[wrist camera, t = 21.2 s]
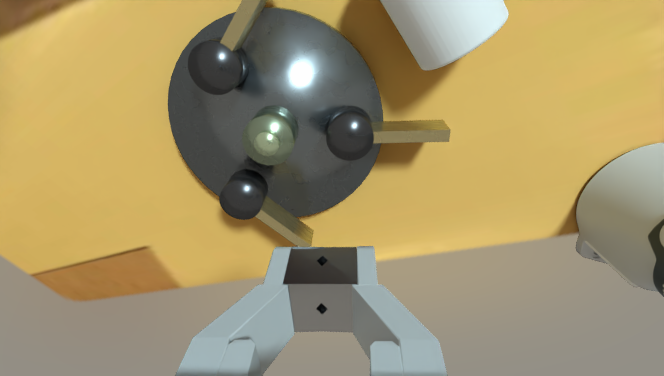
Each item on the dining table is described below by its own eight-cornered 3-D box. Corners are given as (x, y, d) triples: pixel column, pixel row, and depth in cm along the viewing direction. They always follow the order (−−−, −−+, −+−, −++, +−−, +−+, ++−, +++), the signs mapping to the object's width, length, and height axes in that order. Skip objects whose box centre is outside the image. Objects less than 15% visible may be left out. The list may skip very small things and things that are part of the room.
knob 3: (329, 148, 38) (327, 161, 35) (327, 106, 35) (324, 116, 32) (439, 145, 37) (447, 158, 34) (444, 102, 35) (453, 112, 32)
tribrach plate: (423, 78, 36) (437, 94, 30) (324, 235, 46) (320, 269, 40) (212, -43, 32) (181, -51, 26) (155, 159, 42) (123, 185, 36)
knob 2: (221, 187, 41) (211, 202, 38) (243, 161, 39) (234, 175, 36) (299, 242, 44) (295, 260, 41) (322, 221, 42) (320, 238, 39)
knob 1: (235, 95, 35) (224, 104, 32) (194, 67, 34) (179, 74, 31) (298, -12, 30) (293, -13, 27) (253, -49, 29) (242, -54, 26)
